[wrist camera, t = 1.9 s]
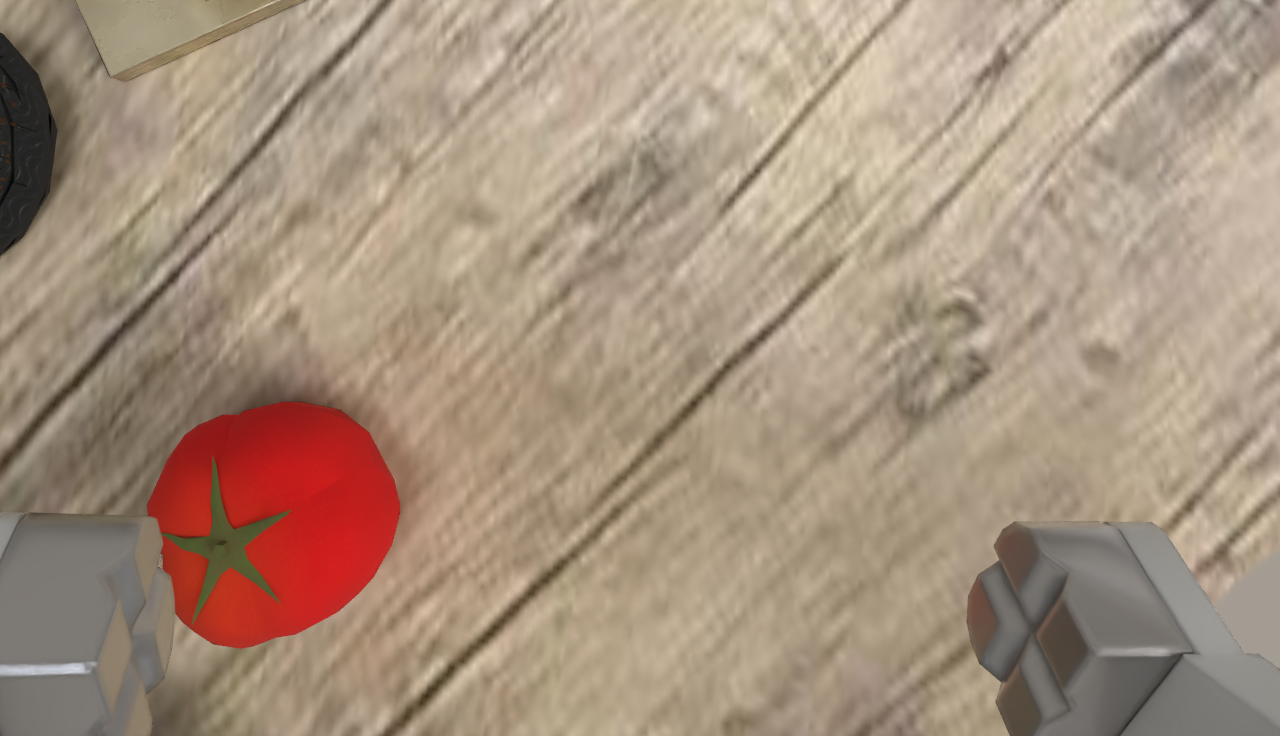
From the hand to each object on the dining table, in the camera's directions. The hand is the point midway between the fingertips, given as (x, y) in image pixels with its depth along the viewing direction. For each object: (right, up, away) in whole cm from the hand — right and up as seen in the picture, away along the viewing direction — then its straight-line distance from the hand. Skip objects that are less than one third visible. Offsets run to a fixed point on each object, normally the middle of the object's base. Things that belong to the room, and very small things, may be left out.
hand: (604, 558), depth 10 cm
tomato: (-14, -4, +37) cm, 39 cm away
